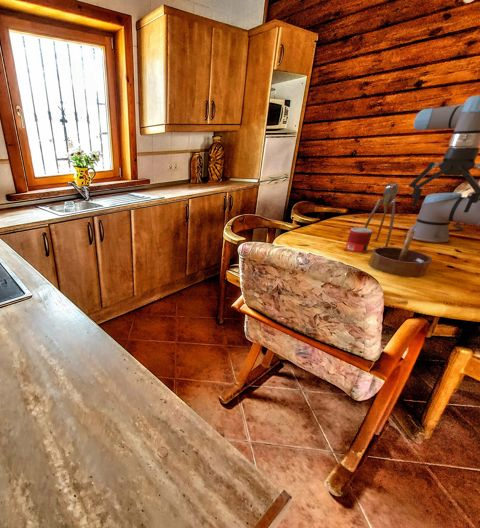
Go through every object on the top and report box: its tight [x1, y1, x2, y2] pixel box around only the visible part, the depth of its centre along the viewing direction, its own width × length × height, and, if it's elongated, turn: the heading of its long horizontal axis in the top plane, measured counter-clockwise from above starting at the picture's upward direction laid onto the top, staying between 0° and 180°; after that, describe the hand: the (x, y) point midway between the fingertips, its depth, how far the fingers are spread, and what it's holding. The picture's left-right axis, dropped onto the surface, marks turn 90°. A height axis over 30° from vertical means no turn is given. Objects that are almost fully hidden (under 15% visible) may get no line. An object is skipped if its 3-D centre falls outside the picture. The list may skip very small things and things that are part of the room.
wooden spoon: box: [398, 230, 415, 261], centre depth 113 cm, size 4×4×15 cm
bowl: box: [368, 246, 433, 278], centre depth 113 cm, size 18×18×6 cm
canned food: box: [345, 226, 373, 254], centre depth 131 cm, size 8×8×11 cm
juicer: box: [363, 182, 399, 247], centre depth 135 cm, size 10×11×30 cm
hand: (438, 209), depth 103 cm, fingers open, 13 cm apart
